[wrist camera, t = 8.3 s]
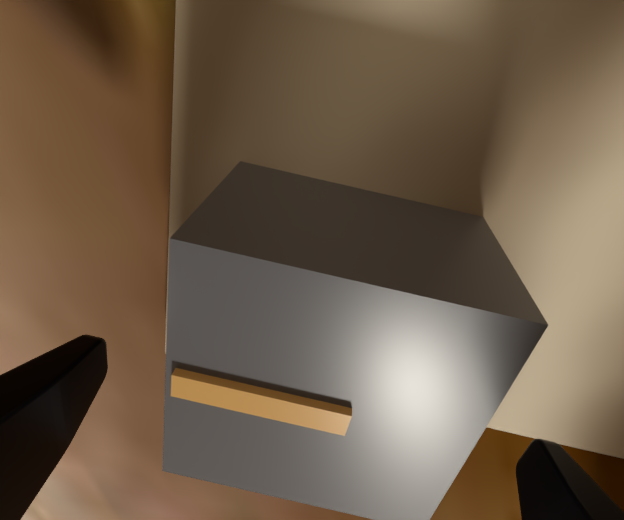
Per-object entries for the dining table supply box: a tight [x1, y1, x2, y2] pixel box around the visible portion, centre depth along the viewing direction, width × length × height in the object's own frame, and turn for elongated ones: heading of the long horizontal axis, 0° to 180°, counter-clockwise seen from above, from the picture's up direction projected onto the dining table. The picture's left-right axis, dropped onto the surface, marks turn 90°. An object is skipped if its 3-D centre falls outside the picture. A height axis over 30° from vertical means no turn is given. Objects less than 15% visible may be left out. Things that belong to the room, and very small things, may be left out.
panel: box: [165, 0, 624, 459], centre depth 10 cm, size 18×20×1 cm
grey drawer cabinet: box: [163, 161, 548, 520], centre depth 10 cm, size 6×6×5 cm
